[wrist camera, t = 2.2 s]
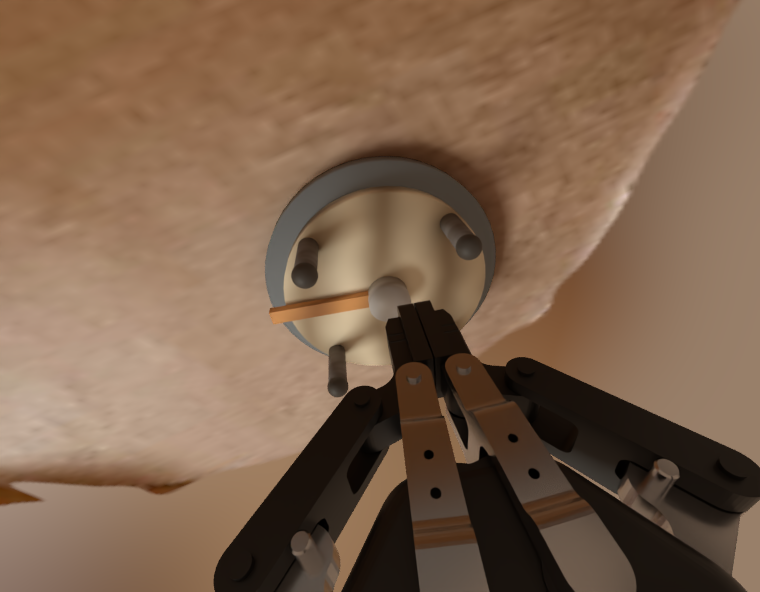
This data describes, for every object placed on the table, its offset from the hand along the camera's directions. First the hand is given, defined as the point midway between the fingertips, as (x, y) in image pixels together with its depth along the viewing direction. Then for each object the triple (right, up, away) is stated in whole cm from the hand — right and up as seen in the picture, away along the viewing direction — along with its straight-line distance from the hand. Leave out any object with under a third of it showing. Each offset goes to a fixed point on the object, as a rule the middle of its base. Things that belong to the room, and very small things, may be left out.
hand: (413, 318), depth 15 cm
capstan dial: (-2, +2, +20) cm, 20 cm away
